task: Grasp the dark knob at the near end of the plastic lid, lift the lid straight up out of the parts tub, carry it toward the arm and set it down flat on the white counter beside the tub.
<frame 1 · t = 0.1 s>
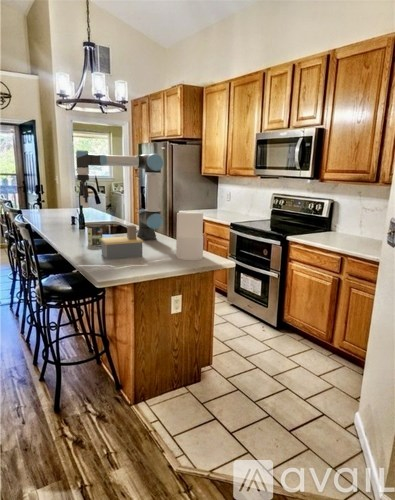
hand: (84, 206, 240), 28 cm above the table, fingers open, 13 cm apart
tub: (122, 256, 223), on the table
coffee can: (95, 245, 252), on the table
lid: (121, 241, 220), point 10 cm above the table, touching tub
cylinder: (189, 256, 228), on the table
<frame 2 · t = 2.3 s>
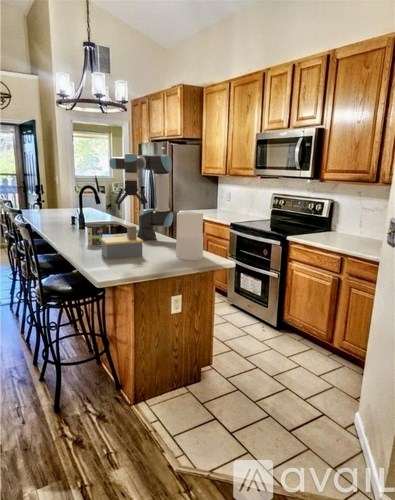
hand: (131, 214, 219), 26 cm above the table, fingers open, 13 cm apart
nothing on the table moved.
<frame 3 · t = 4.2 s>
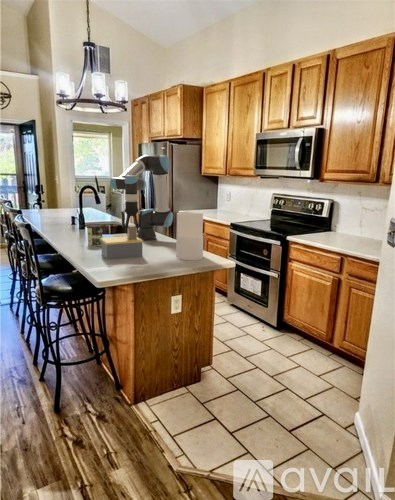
hand: (131, 238, 223), 11 cm above the table, fingers closed on lid, 4 cm apart
lid: (121, 241, 220), point 10 cm above the table, touching gripper, tub
everything else where it was.
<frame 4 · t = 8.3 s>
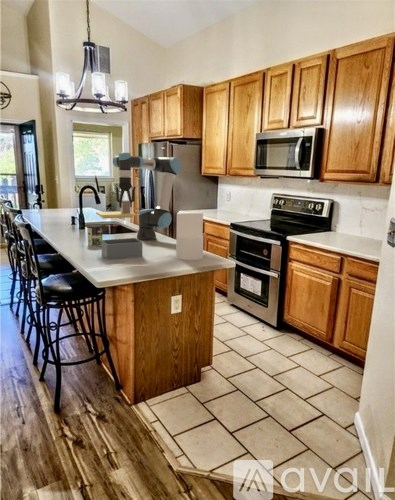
hand: (125, 212, 237), 25 cm above the table, fingers closed on lid, 4 cm apart
lid: (116, 214, 234), point 24 cm above the table, touching gripper
everything else where it was.
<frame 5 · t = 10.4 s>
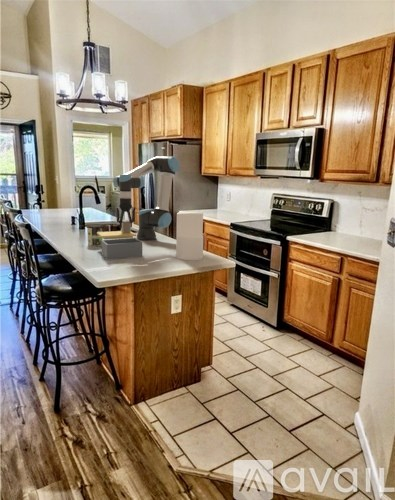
hand: (125, 232, 240), 12 cm above the table, fingers closed on lid, 4 cm apart
lid: (116, 234, 237), point 10 cm above the table, touching gripper
everything else where it was.
when the fingers open (4 cm above the table, at t = 12.2 s): lid drops 2 cm, point 1 cm above the table.
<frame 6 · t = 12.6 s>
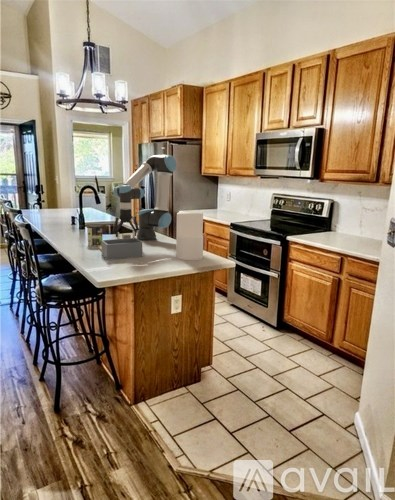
hand: (126, 241, 241), 6 cm above the table, fingers open, 10 cm apart
lid: (117, 248, 240), point 1 cm above the table
everything else where it was.
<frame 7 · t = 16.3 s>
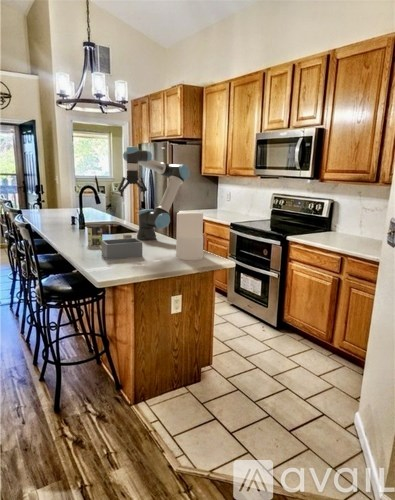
hand: (132, 201, 246), 32 cm above the table, fingers open, 13 cm apart
at the end: lid inside the target area (0.9 cm from its centre), point 1.1 cm above the table; lid touching table; lid tilted 0° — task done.
